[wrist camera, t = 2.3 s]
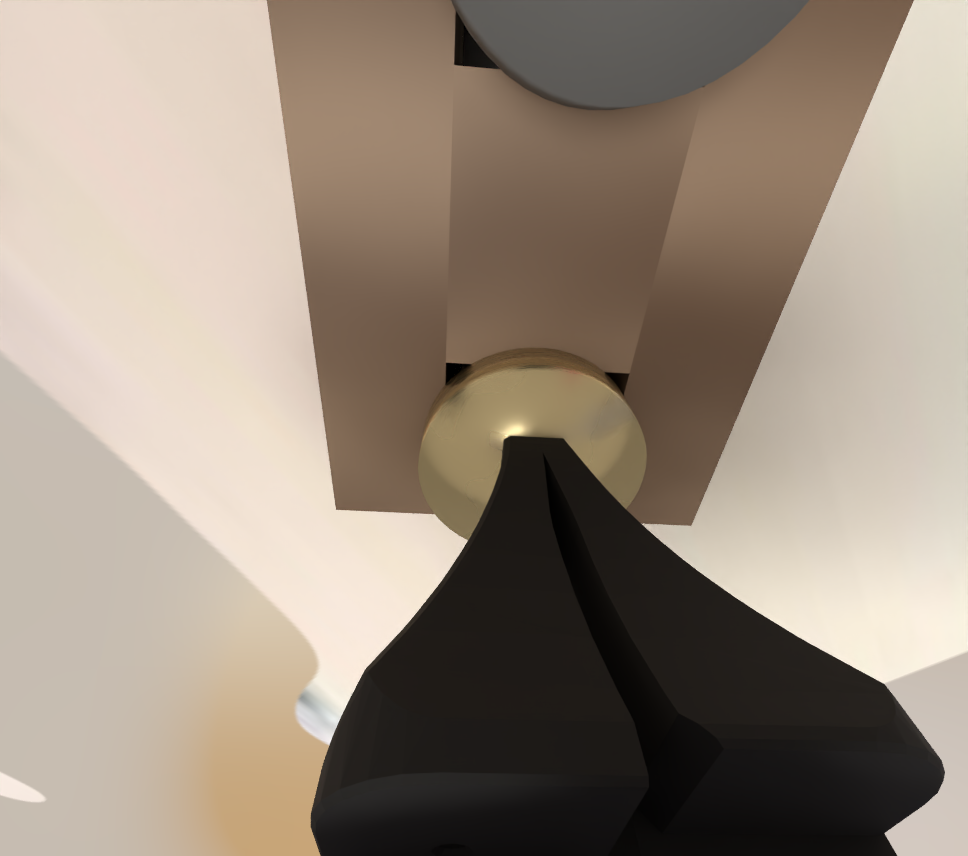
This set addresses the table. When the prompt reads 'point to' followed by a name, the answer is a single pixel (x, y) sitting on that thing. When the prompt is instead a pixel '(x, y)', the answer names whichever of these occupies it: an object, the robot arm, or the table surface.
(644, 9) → the middle black knob
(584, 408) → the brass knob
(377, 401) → the control panel
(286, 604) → the table surface
